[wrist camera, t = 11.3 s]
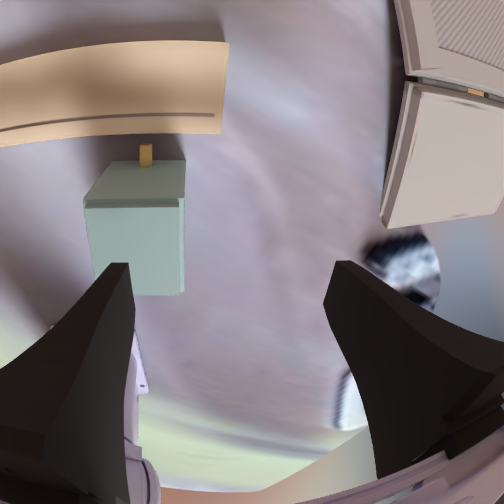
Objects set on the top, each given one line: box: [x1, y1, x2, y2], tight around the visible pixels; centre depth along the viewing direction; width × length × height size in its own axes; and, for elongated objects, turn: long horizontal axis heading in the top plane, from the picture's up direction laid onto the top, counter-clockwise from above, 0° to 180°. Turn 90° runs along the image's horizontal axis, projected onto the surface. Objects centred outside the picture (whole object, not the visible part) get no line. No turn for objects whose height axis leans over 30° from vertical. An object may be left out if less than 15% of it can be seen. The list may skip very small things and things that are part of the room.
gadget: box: [380, 0, 504, 229], centre depth 16 cm, size 23×15×4 cm, turn 4°
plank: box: [0, 40, 230, 147], centre depth 13 cm, size 5×22×2 cm, turn 84°
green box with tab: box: [83, 144, 186, 295], centre depth 16 cm, size 6×4×6 cm
